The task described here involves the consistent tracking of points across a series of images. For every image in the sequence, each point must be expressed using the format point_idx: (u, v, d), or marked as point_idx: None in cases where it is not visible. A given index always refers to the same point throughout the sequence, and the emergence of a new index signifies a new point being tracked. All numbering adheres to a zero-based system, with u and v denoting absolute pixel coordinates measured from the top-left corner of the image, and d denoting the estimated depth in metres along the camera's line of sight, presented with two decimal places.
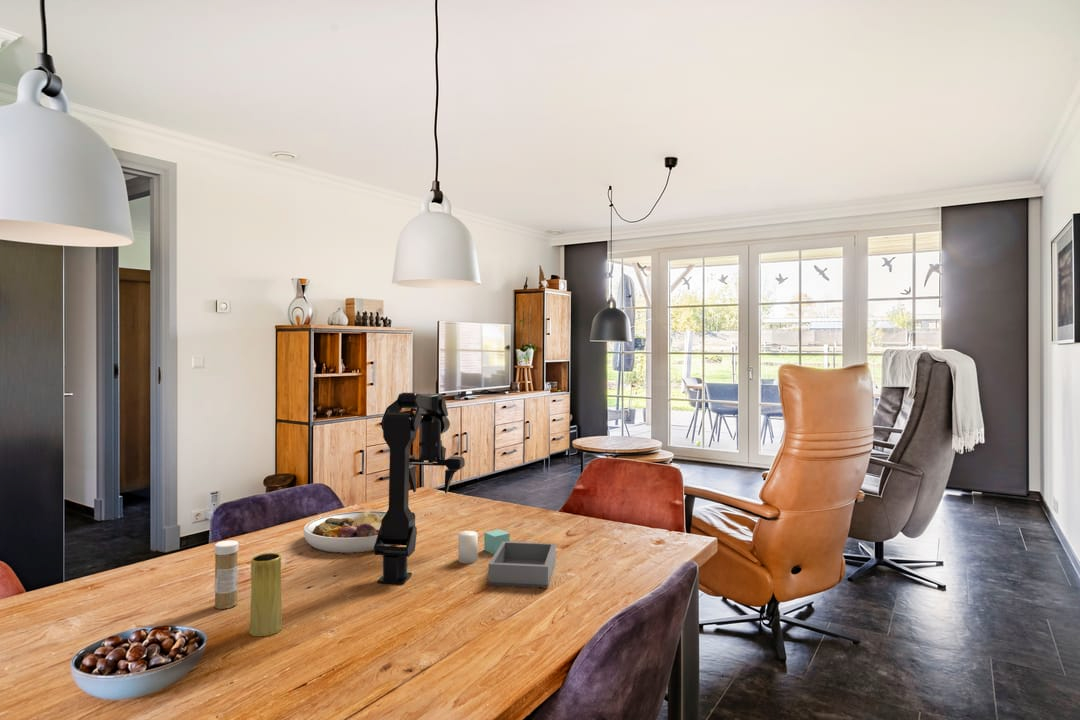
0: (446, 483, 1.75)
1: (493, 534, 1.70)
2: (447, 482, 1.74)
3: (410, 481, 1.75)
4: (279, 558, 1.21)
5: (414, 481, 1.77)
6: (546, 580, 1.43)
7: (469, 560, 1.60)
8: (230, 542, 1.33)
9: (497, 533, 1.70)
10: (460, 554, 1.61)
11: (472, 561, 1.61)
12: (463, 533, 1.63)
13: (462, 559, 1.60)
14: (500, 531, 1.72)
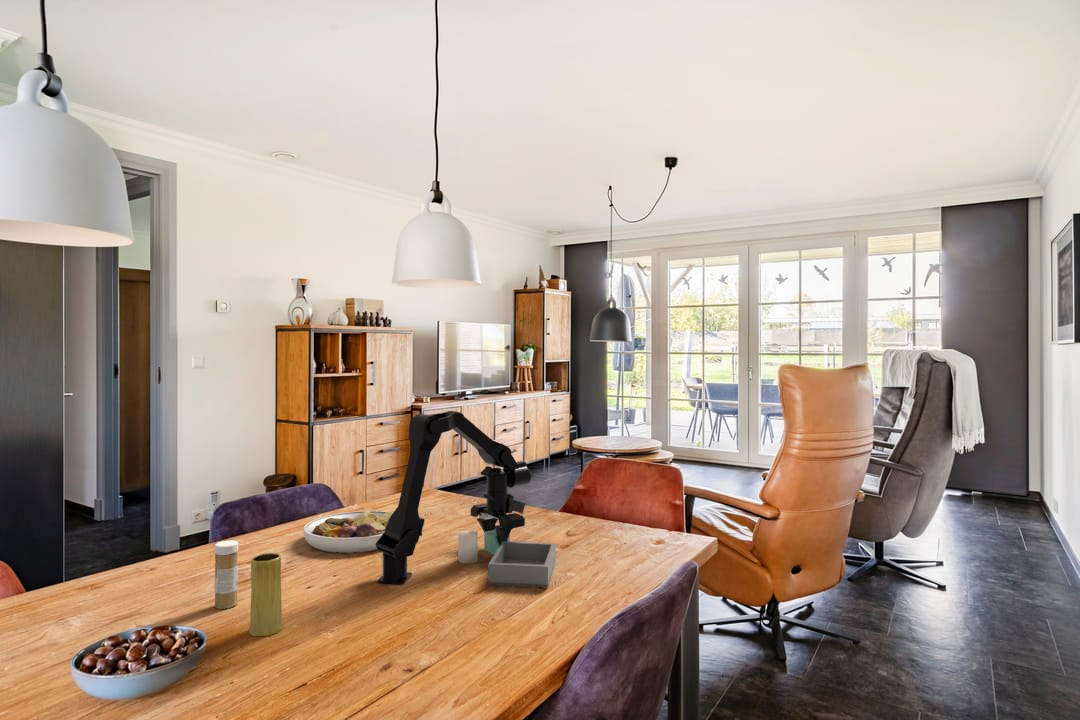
0: (499, 540, 1.68)
1: (493, 533, 1.70)
2: (499, 538, 1.67)
3: None
4: (279, 558, 1.21)
5: None
6: (546, 580, 1.43)
7: (469, 560, 1.60)
8: (230, 542, 1.33)
9: None
10: (460, 554, 1.61)
11: (472, 561, 1.61)
12: (463, 533, 1.63)
13: (462, 559, 1.60)
14: None
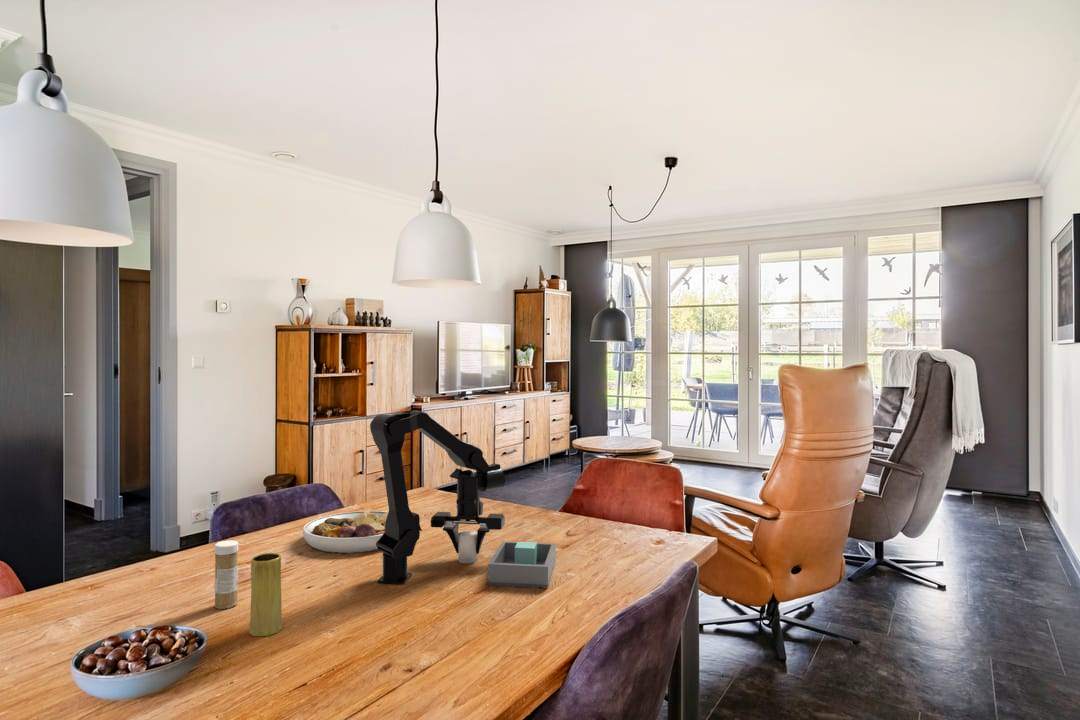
0: (478, 544, 1.61)
1: (526, 546, 1.55)
2: (479, 542, 1.60)
3: (453, 541, 1.61)
4: (279, 558, 1.21)
5: (457, 541, 1.63)
6: (546, 580, 1.43)
7: (469, 560, 1.60)
8: (230, 542, 1.33)
9: (527, 545, 1.57)
10: (460, 554, 1.61)
11: (472, 561, 1.61)
12: (463, 533, 1.63)
13: (462, 559, 1.60)
14: (524, 543, 1.58)
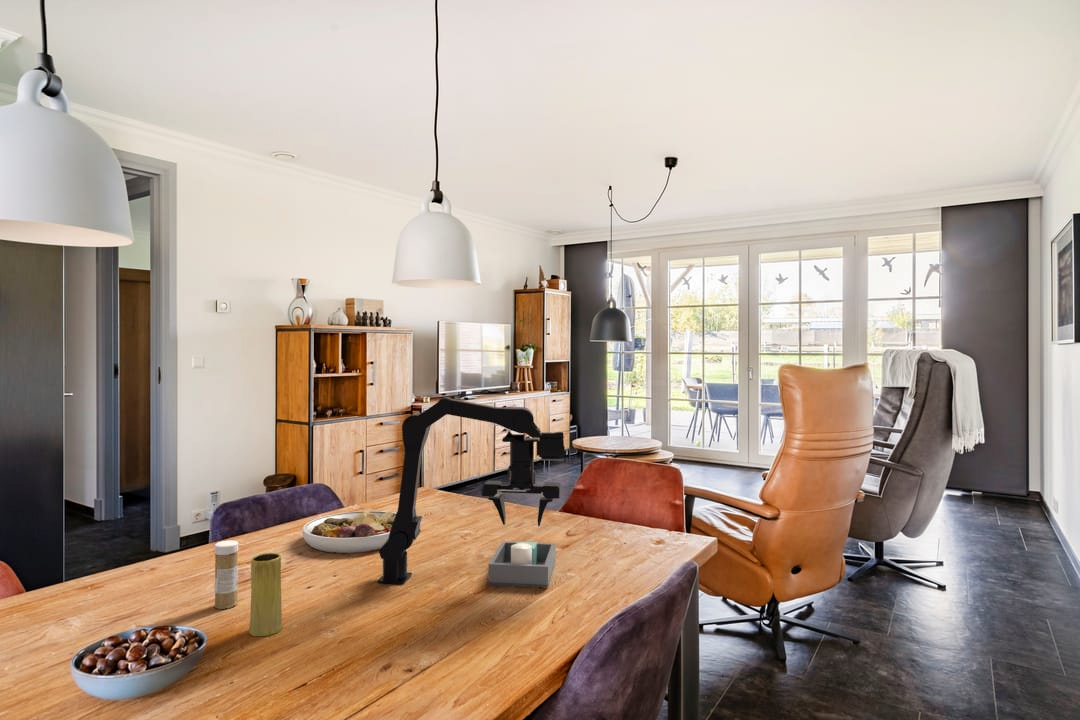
0: (540, 515, 1.47)
1: None
2: (541, 513, 1.46)
3: (500, 512, 1.48)
4: (279, 558, 1.21)
5: (504, 511, 1.49)
6: (546, 580, 1.43)
7: None
8: (230, 542, 1.33)
9: None
10: None
11: None
12: (516, 546, 1.49)
13: None
14: (524, 543, 1.58)
